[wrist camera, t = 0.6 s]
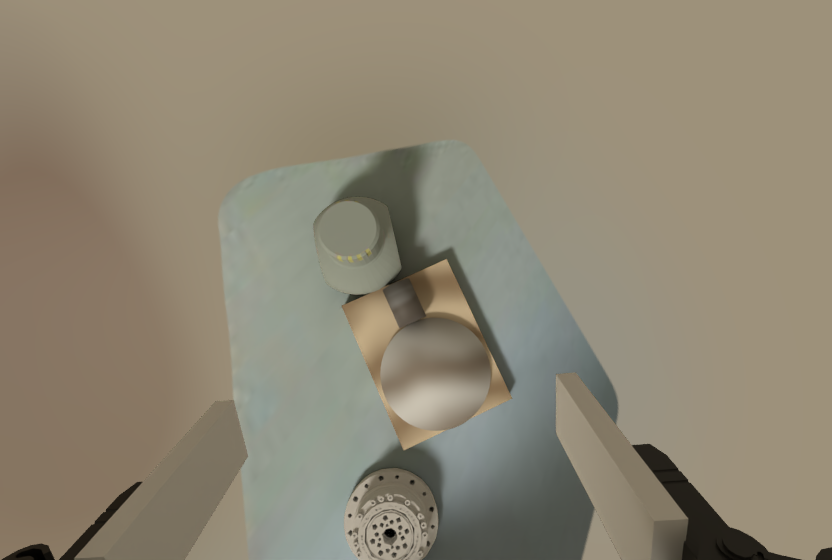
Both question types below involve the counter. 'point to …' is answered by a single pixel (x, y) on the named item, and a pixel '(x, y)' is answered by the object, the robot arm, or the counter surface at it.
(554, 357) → the counter surface
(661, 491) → the robot arm
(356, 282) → the grey rounded piece
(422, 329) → the flange board
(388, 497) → the mechanical component
